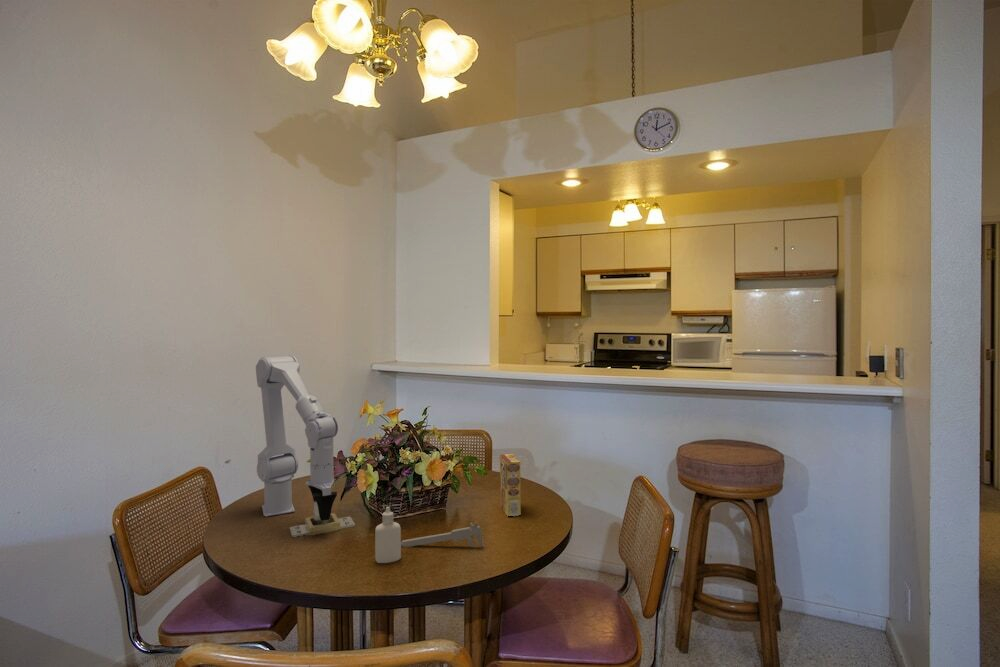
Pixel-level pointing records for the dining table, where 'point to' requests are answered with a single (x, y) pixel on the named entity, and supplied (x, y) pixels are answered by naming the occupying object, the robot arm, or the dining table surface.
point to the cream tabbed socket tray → (321, 526)
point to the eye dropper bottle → (387, 539)
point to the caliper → (448, 537)
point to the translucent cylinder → (316, 516)
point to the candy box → (510, 485)
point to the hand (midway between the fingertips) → (322, 514)
